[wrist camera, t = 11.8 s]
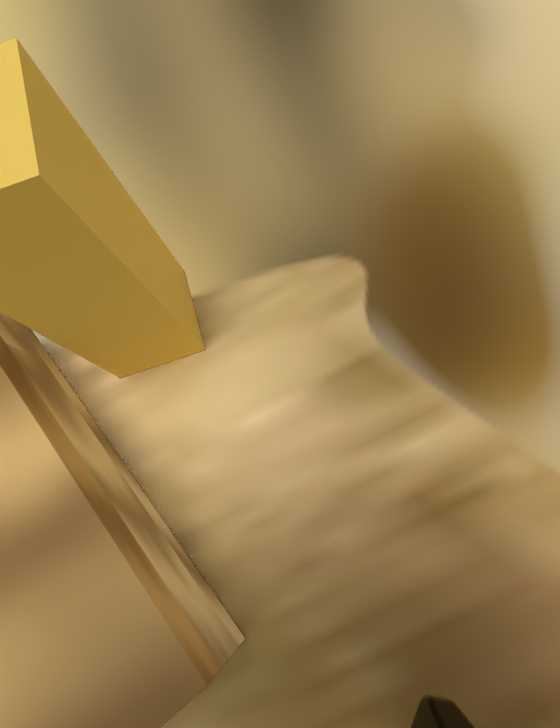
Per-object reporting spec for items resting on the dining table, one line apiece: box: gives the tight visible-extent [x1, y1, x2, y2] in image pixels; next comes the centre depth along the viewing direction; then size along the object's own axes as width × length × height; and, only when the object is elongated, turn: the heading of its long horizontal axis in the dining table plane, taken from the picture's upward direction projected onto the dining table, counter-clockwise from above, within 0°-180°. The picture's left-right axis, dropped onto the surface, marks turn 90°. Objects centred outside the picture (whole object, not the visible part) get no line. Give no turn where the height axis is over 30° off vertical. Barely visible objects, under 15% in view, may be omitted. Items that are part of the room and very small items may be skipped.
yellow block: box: [0, 38, 205, 378], centre depth 17 cm, size 4×4×12 cm
